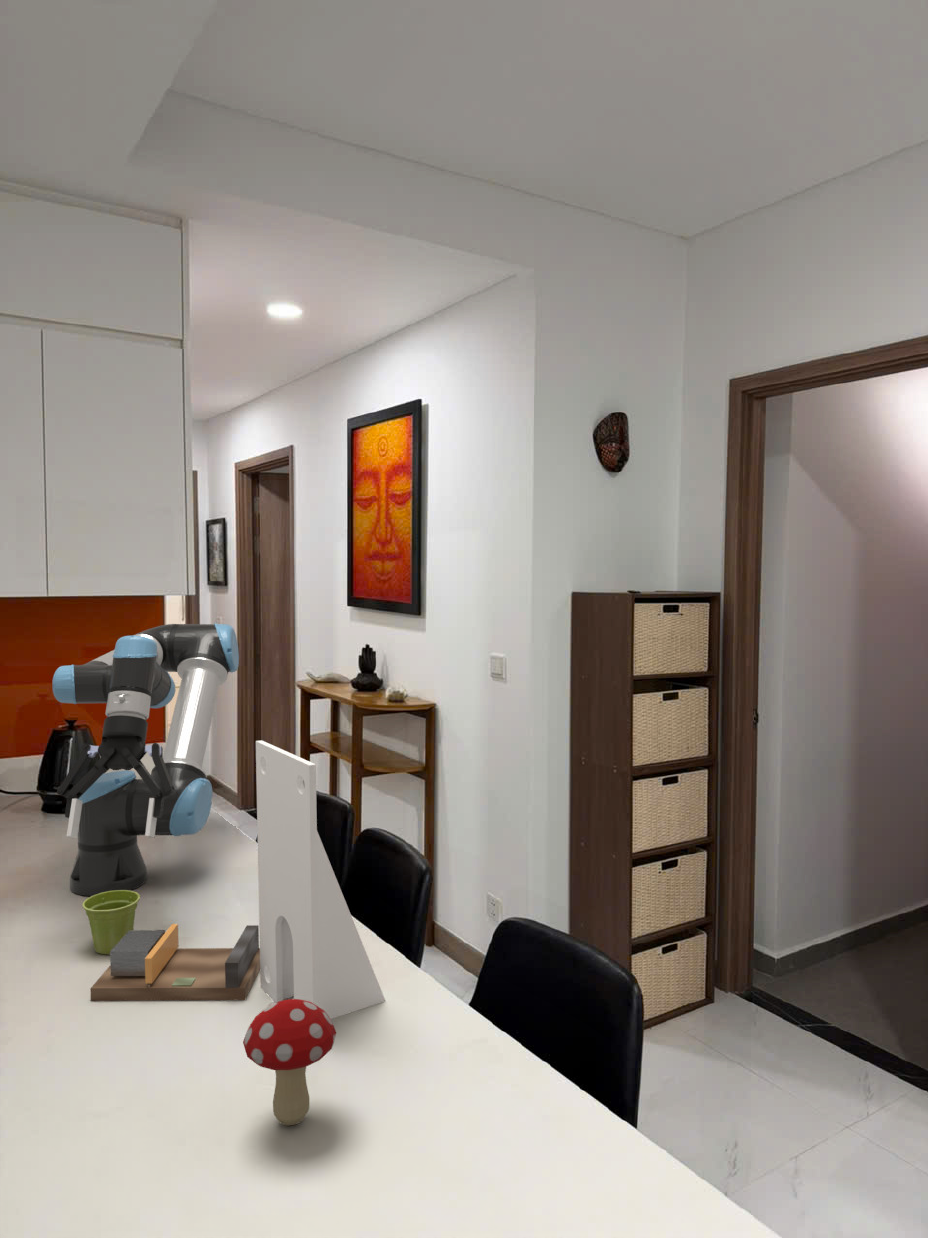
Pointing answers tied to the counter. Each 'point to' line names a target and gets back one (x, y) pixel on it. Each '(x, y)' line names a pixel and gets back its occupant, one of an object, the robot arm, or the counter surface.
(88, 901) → the plant pot
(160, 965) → the upright wooden plank
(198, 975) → the gauge board
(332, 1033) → the decorative mushroom
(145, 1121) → the counter surface
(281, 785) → the white bracket plate
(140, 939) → the grey foam block
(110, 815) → the robot arm
